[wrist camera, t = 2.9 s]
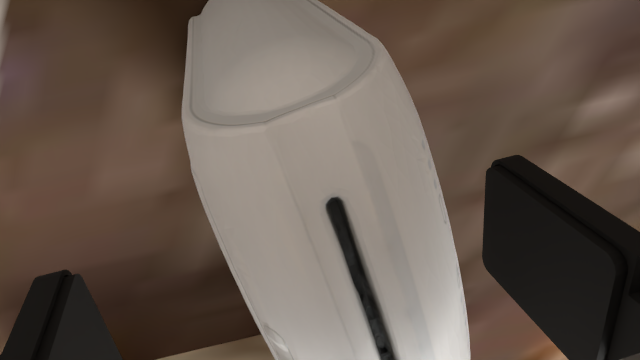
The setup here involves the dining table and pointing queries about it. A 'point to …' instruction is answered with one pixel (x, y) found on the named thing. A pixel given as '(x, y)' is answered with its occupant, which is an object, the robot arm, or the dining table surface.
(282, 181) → the photo printer
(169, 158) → the dining table surface
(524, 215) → the robot arm
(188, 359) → the birch block
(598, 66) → the dining table surface
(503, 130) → the dining table surface
